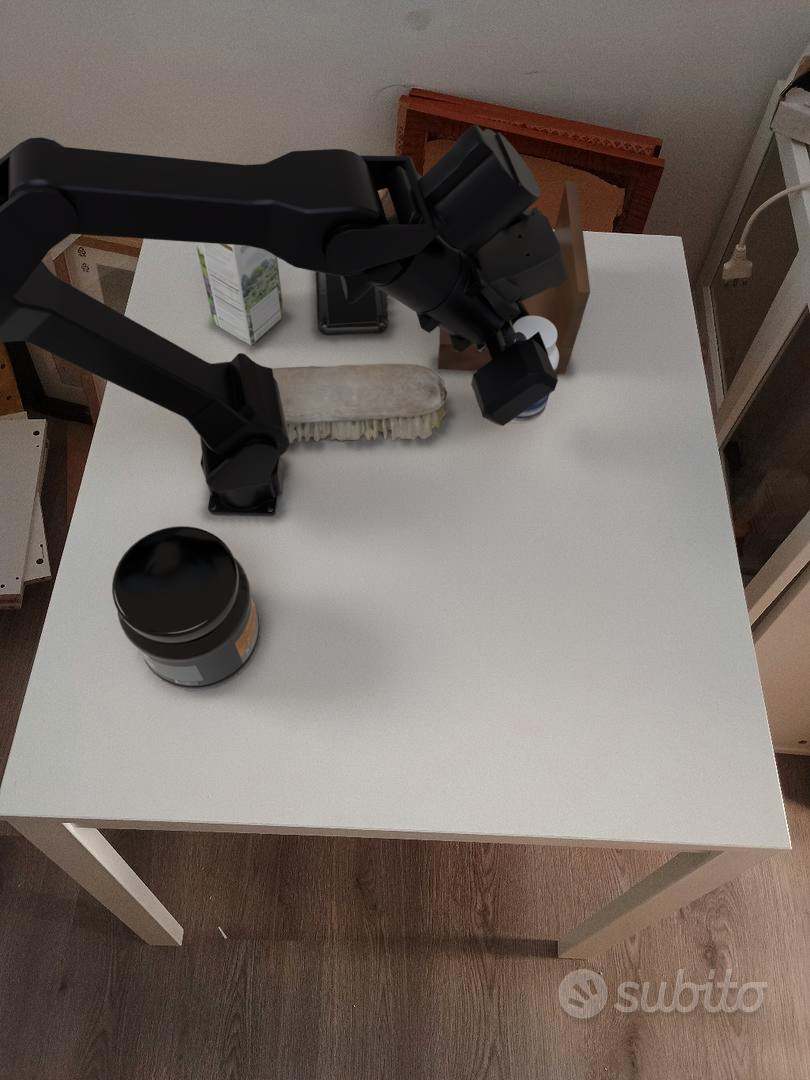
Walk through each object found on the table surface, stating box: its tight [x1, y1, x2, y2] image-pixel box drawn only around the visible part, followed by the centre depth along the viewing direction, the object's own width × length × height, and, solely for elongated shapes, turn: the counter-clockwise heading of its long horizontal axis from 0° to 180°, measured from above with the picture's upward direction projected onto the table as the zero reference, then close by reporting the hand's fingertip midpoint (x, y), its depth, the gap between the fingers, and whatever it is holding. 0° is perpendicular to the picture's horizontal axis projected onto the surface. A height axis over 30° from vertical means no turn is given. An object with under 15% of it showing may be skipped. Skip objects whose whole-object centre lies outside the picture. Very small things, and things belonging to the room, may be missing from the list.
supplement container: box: [111, 525, 261, 691], centre depth 69 cm, size 10×10×12 cm
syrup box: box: [194, 242, 285, 347], centre depth 86 cm, size 6×6×14 cm
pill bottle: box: [509, 316, 559, 425], centre depth 75 cm, size 5×5×10 cm
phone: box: [315, 271, 389, 336], centre depth 95 cm, size 8×1×15 cm
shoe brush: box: [272, 363, 448, 445], centre depth 84 cm, size 24×8×5 cm, turn 95°
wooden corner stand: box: [437, 180, 591, 375], centre depth 89 cm, size 14×16×12 cm
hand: (543, 354), depth 74 cm, fingers closed on pill bottle, 5 cm apart
